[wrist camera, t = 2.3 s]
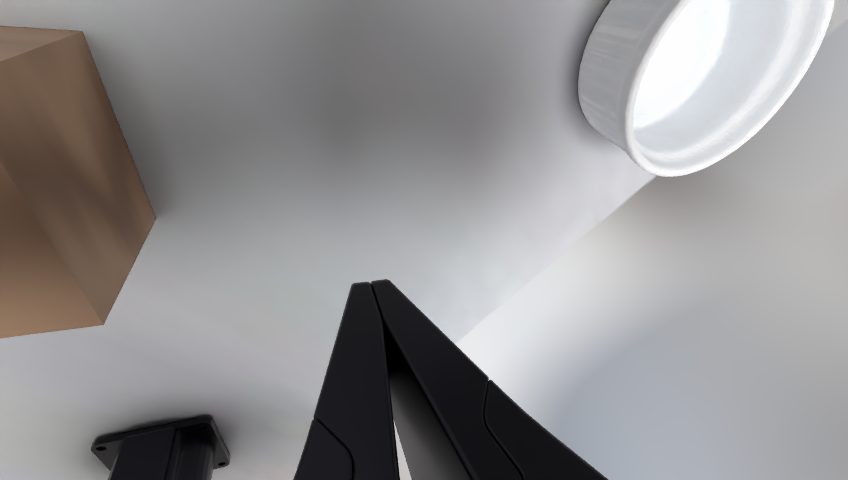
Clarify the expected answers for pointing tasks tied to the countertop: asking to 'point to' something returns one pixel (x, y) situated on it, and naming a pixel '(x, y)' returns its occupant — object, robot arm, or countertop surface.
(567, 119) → the countertop surface
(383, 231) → the countertop surface
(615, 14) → the ramekin
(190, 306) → the countertop surface
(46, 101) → the walnut block
